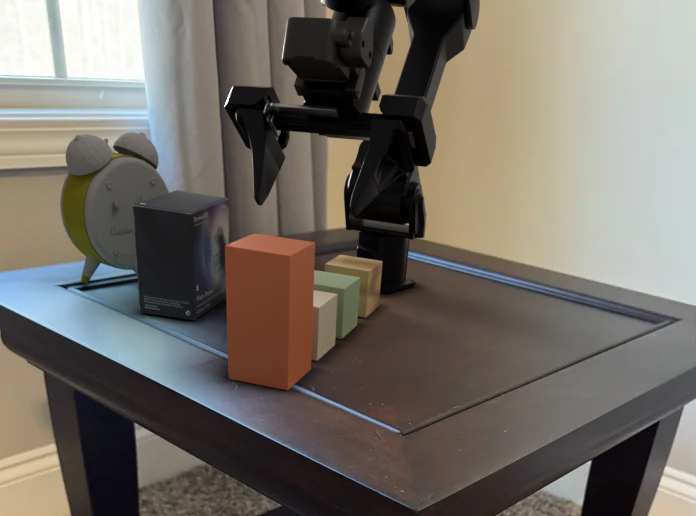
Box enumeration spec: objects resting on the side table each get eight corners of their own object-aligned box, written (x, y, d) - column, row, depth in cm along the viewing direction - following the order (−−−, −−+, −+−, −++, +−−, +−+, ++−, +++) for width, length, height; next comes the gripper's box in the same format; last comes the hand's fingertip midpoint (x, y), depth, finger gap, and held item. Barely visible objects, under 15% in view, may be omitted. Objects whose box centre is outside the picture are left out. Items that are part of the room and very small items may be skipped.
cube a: (337, 299, 89) (339, 254, 86) (379, 306, 88) (382, 260, 85) (322, 310, 84) (324, 263, 82) (365, 318, 83) (369, 270, 81)
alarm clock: (149, 266, 94) (138, 128, 86) (188, 278, 91) (180, 136, 83) (67, 282, 86) (46, 131, 78) (107, 296, 83) (89, 140, 75)
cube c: (287, 336, 76) (288, 285, 74) (335, 345, 75) (337, 293, 73) (267, 351, 72) (267, 298, 70) (317, 361, 71) (319, 307, 69)
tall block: (255, 359, 70) (254, 232, 64) (311, 369, 69) (315, 242, 63) (228, 379, 66) (224, 245, 60) (287, 390, 65) (289, 255, 59)
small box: (197, 323, 78) (192, 212, 72) (137, 314, 79) (127, 204, 73) (234, 296, 86) (232, 195, 81) (179, 288, 87) (173, 188, 82)
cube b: (312, 317, 82) (314, 269, 79) (357, 325, 81) (360, 277, 78) (295, 331, 78) (296, 280, 75) (341, 339, 77) (344, 288, 74)
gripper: (226, -26, 65) (169, 134, 63) (436, -22, 60) (383, 152, 58) (272, 77, 76) (225, 218, 73) (455, 88, 71) (410, 239, 68)
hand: (304, 207), depth 68 cm, fingers open, 9 cm apart
